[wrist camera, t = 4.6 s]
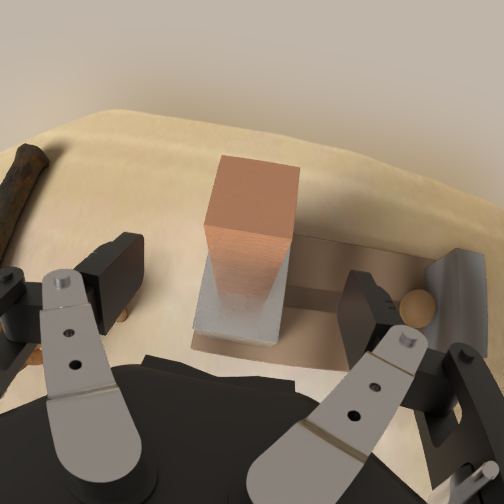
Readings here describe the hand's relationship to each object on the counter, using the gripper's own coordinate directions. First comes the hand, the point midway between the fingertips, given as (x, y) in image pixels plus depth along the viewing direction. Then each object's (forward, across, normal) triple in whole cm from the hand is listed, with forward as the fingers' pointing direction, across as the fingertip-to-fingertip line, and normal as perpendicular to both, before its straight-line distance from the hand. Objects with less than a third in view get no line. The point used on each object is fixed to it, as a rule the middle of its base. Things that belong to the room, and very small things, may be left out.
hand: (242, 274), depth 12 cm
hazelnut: (+10, -13, +6) cm, 18 cm away
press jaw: (+10, 0, +6) cm, 11 cm away
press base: (+11, -8, +8) cm, 16 cm away
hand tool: (+12, +25, +8) cm, 29 cm away
